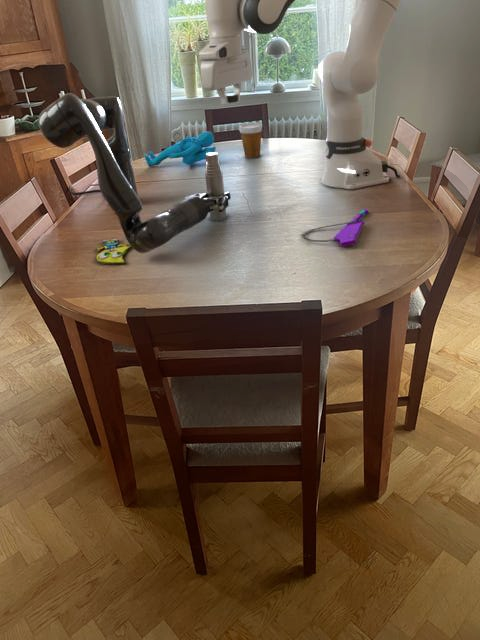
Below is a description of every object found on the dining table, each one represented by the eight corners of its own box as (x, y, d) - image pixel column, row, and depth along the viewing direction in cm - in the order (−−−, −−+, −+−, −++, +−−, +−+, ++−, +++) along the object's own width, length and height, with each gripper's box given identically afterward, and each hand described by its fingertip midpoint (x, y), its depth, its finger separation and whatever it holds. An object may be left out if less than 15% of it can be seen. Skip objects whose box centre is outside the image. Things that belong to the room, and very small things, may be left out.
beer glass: (264, 157, 198) (262, 127, 191) (241, 159, 198) (238, 129, 192) (263, 152, 206) (261, 122, 199) (241, 153, 206) (239, 124, 200)
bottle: (229, 218, 144) (223, 153, 134) (214, 221, 143) (206, 157, 132) (222, 213, 148) (216, 150, 138) (207, 217, 146) (200, 153, 136)
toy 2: (152, 145, 206) (216, 125, 196) (162, 169, 211) (224, 150, 201) (137, 155, 193) (205, 134, 182) (148, 181, 198) (214, 162, 187)
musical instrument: (305, 254, 121) (386, 239, 118) (304, 246, 120) (385, 231, 117) (298, 224, 142) (366, 211, 139) (297, 217, 141) (366, 204, 138)
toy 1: (135, 237, 135) (125, 260, 122) (135, 240, 135) (125, 263, 123) (99, 239, 135) (85, 263, 122) (100, 242, 135) (86, 266, 123)
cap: (222, 101, 144) (222, 94, 143) (238, 99, 144) (237, 92, 143) (222, 103, 140) (222, 96, 139) (238, 101, 140) (238, 95, 139)
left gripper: (207, 203, 126) (240, 184, 138) (164, 197, 133) (200, 179, 145) (210, 230, 131) (242, 209, 142) (169, 223, 137) (203, 203, 149)
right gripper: (238, 45, 143) (242, 95, 150) (194, 53, 129) (201, 108, 137) (255, 44, 140) (258, 96, 147) (212, 52, 126) (218, 109, 134)
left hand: (221, 194), depth 144 cm, fingers closed on bottle, 5 cm apart
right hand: (230, 102), depth 142 cm, fingers closed on cap, 4 cm apart
